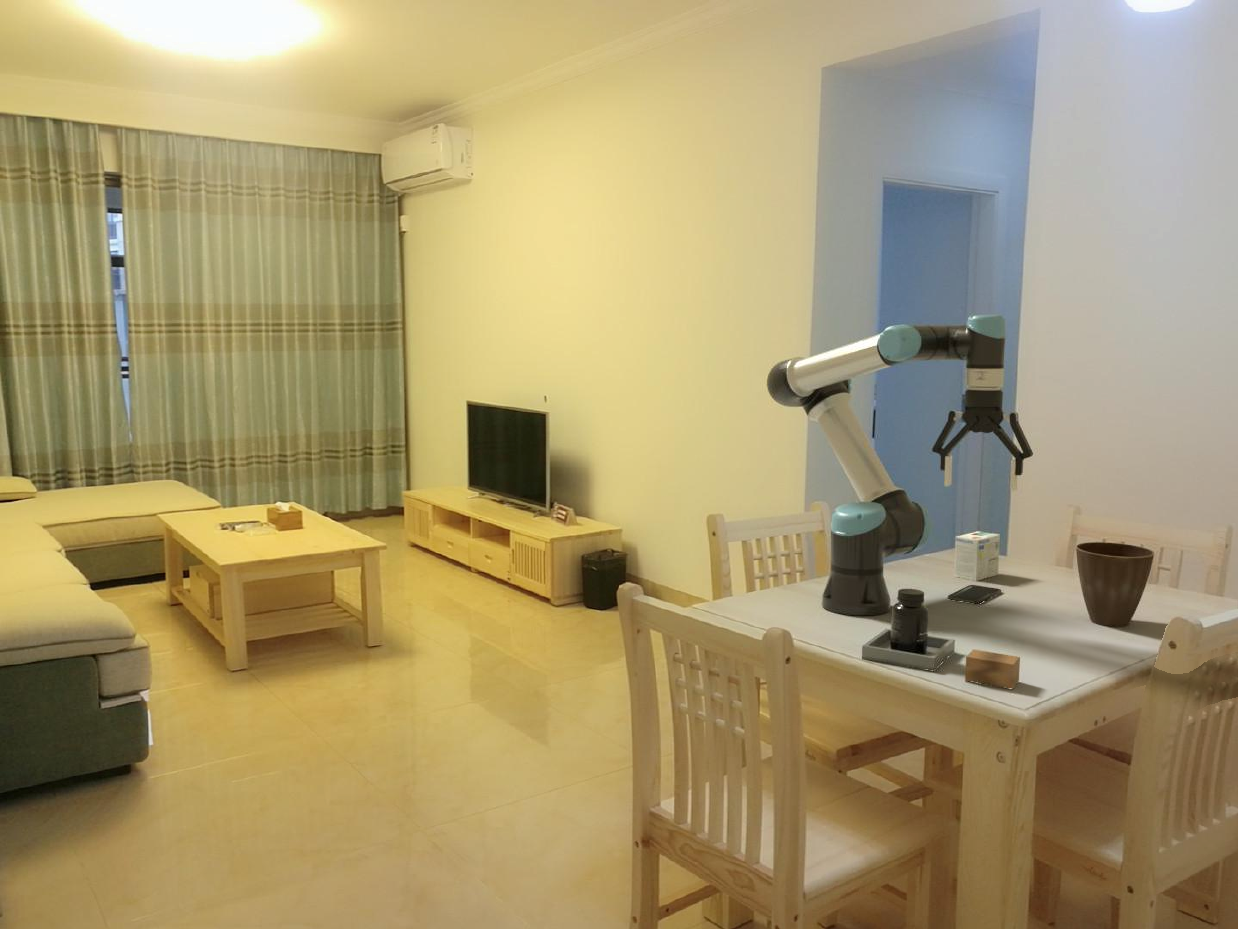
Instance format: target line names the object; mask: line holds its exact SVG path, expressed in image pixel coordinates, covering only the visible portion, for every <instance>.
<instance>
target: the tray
mask: <svg viewBox="0 0 1238 929" xmlns="http://www.w3.org/2000/svg"><path fill="white" fill-rule="evenodd" d="M890 641H891V628H885V629H884V630H883V631H880V632H879V633H878V634H877V635H875V636H874V637H873V638H871V639H869V640H868V641H867V642H866V643H864V644H863V645H862V646H861V647H862V648H861V649H862V650H861V659H863V660H868V661H874V662H879V663H884V664H890V665H895V664H896V666H900V665H901V666H902V667H906V666H908V668H912V667H913V669H917V668H919V669H918V670H923V669H928V670H933V671H932V672H935V671H934V670H935V669H936V668H937V667H938V666H939V665H940V664H941V663H942V662H943V663H945V661H947V660H948V659H947V657H948V656H950V655H951V654H952V653H953V652H954V653H955V646H956V645H955V643H956V642H955V641H956V639H953V638H946V637H941V636H934V635H928V639H927V652H926V654H925V655H920V654H914V653H909V652H903V651H897V650H891V649H890ZM954 653H953V654H954ZM953 654H952V655H953ZM952 655H951V656H952ZM951 656H950V657H951ZM943 663H942V664H943ZM942 664H941V665H942ZM941 665H940V666H941ZM940 666H939V667H940ZM939 667H938V668H939ZM938 668H937V669H938ZM937 669H936V670H937ZM928 670H927V671H928Z"/></svg>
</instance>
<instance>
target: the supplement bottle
mask: <svg viewBox="0 0 1238 929" xmlns="http://www.w3.org/2000/svg"><path fill="white" fill-rule="evenodd" d="M896 599H897V600H896V601H897V602H896V603H895V604H893V606H892V608H891V620H890V621H891V622H890V624H891V625H890V629H891V641H890V649H891V650H897V651H903V652H909V653H914V654H920V655H925V654H926V652H927V639H928V634H929V619H930V618H929V617H930V616H929V615H930V614H929V609H928V607H927V606H926V605H924V602H925V592H924V591H923V590H920V589H915V588H901V589H898V590H897V597H896Z"/></svg>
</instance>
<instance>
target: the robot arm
mask: <svg viewBox="0 0 1238 929" xmlns="http://www.w3.org/2000/svg"><path fill="white" fill-rule="evenodd" d="M1006 338H1007V335H1006V319H1005V317H1004V316H1003V315H1000V314H997V315H996V314H983V315H982V314H981V315H978V314H977V315H970V316H968V318H967V322H966V324H964V325H962V324H961V325H953V324H952V325H951V324H950V325H945V324H944V325H941V324H937V325H935V324H933V325H930V324H929V325H927V324H926V325H925V324H924V325H923V324H922V325H919V324H904V323H902V324H901V323H900V324H897V325H890V326H888V327H886V328H885V329H884V330H883V332H881V333H878V334H875V335H872V336H869V337H866V338H863V339H861V340H857V341H855V342H851V343H848V344H844V345H842V346H839V347H836V348H833V349H831V350H827V351H823V352H821V353H819V354H815V355H812V356H809V357H804V356H803V357H802V356H796V357H792V358H789V359H785V360H782V361H779V362H777V363H776V364H775V365H774V366H772V368H771V369H770V371H769V372H768V374H767V379H766V387H767V392H768V393H769V395H770V397H771V399H773V400H774V402H776V403H777V404H779V405H781V406H785V407H790V408H798V407H802V408H803V410H804V412H805V414H806V416H807V418H808V419H809V420H810V421H813V422H817V423H818V424H819V426H820V428H821V430H822V432H823V434H824V436H825V437H826V440H827V442H828V443H829V446H830V448H831V450H833V451H832V452H833V453H834V455H835V456H836V458H837V460H838V462H839V463H840V465H841V467H842V469H843V471H844V472H845V475H846V476H847V478H848V480H849V482H850V484H851V485H852V488H853V490H854V491H855V493H856V495H857V497H858V498H859V500H860V501H858V502H849V503H845V504H842V505H840V506H837V507H836V508H835V509H834V510H833V512H832V517H831V523H830V534H831V535H830V574H829V576H828V578H827V582H826V585H825V587H824V590H823V593H822V597H821V605H822V608H824V609H825V610H827V611H830V612H834V613H836V614H843V615H851V616H877V615H882V614H886V613H888V612H890V611H891V597H890V593H889V590H888V586H887V584H886V583H887V582H886V581H885V577H884V562H885V561H884V558H889V557H893V556H894V557H895V556H899V555H907V554H908V555H909V554H911V553H913V552H915V551H919V550H921V549H922V548H923V547H924V546H925V545H926V544H927V543H928V541H929V539H930V537H931V532H932V519H931V515H930V513H929V511H928V510H927V509H926V507H925V506H924V505H923V504H921V503H918V502H916V501H911V499H910V498H909V496H908V494H907V492H906V491H905V489H904V488H902V487H897V486H896V485H894V483H893V481H892V479H891V478H890V476H889V474H888V472H887V470H886V469H885V466H884V465H883V463H882V462H881V459H880V458H879V456H878V454H877V452H876V450H875V449H874V447H873V445H872V443H871V441H870V440H869V437H868V436H867V435H866V433H865V432H864V429H863V428H862V427H863V426H862V425H861V424H860V422H859V420H858V419H857V416H856V415H855V413H854V411H853V409H852V408H851V406H850V404H851V401H852V395H851V390H852V386H851V384H852V379H854V378H858V377H861V376H864V375H866V374H867V375H868V374H870V373H873V372H877V371H881V370H884V369H886V368H890V367H894V366H898V365H901V364H902V365H903V364H905V363H907V362H913V361H915V362H917V361H922V362H923V361H965V362H966V364H965V366H966V367H965V387H967V389H966V390H965V392H964V409H963V411H958V410H956V409H955V410H954V409H953V410H950V411H948V416H947V417H948V418H947V421H946V423H945V425H944V426H943V429H942V430H941V432H940V434H939V435H938V438H937V439H936V441H935V443H934V445H933V447H932V448H931V450H932V453H936V454H938V455H939V456H940V464H939V465H940V467H939V468H940V471H944V485H943V486H944V487H950V486H952V479H953V477H952V475H953V455H951V454H950V453H951V452H952V451H953V450H954V449H955V448H956V446H958V444H959V443H960V442H961V441H962V440H963V439H965V437H966V436H967V435H968V434H970V432H972V433H975V434H976V433H977V434H978V433H983V434H990V433H993V434H994V435H995V436H996V437H997V438H998V439H999V440H1000V441H1001V443H1002V444H1003V445H1004V446H1005V448H1006V449H1007V450H1008V452H1010V454H1011V455H1012V456H1013V457H1014V459H1012V460H1010V463H1011V464H1010V482H1009V483H1010V484H1009V485H1010V486H1009V491H1010V492H1015V491H1017V490H1018V489H1017V488H1018V476H1022V474H1023V470H1024V460H1025V459H1028V458H1032V456H1033V455H1034V452H1033V449H1032V448H1031V446H1030V444H1029V442H1028V439H1027V437H1026V435H1025V433H1024V431H1023V429H1022V427H1021V425H1020V422H1019V413H1018V412H1017V411H1014V412H1011V413H1004V410H1003V397H1004V396H1003V395H1004V391H1003V390H1002V389H1001V388H1003V387H1004V377H1005V376H1004V373H1005V372H1004V371H1005V368H1004V367H1005V366H1004V364H1005V363H1004V362H1005V348H1006V347H1005V346H1006ZM961 418H962V420H963V421H964V423H965V424H964V426H962V428H961V429H960V431H959V432H957V434H956V435H955V436H954V437H953V438H952V439H951V440H950V441H949V442H948V443H947V444H946V445H945V446H944V444H945V443H946V441H947V439H948V437H949V436H950V434H951V432H952V430H953V429H954V427H955V425H956V422H958V421H960V419H961ZM1004 420H1005V421H1006V423H1007V424H1009V425H1010V428H1011V430H1012V432H1013V434H1014V436H1015V438H1016V441H1017V442H1018V444H1019V445H1018V446H1020V449H1021V450H1022V451H1021V450H1020V449H1019V448H1018V446H1017V445H1016V444H1015V443H1014V441H1013V440H1012V438H1010V436H1009V435H1008V434H1007V433H1006V431H1005V430H1004V428H1003V427H1002V425H1001V423H1002V422H1003V421H1004ZM943 446H944V448H943Z"/></svg>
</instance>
